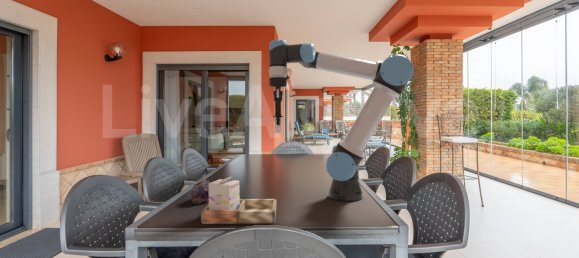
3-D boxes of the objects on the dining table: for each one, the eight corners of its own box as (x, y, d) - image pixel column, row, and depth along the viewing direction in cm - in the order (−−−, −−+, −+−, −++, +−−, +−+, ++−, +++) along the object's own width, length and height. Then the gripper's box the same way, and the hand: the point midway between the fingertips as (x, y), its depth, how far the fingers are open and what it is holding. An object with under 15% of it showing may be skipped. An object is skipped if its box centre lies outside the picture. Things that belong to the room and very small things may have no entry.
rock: (187, 207, 134) (212, 206, 135) (186, 188, 132) (211, 186, 133) (193, 196, 145) (215, 195, 146) (191, 178, 144) (214, 177, 145)
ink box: (220, 209, 123) (219, 174, 123) (240, 211, 121) (239, 175, 121) (208, 216, 115) (207, 178, 115) (229, 218, 113) (229, 179, 112)
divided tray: (276, 209, 127) (276, 198, 127) (274, 223, 110) (274, 210, 110) (212, 209, 127) (212, 198, 127) (200, 223, 110) (200, 211, 109)
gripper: (270, 79, 145) (270, 131, 146) (268, 75, 132) (268, 133, 133) (286, 79, 145) (286, 131, 146) (286, 75, 132) (287, 133, 133)
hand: (278, 132), depth 140 cm, fingers closed
